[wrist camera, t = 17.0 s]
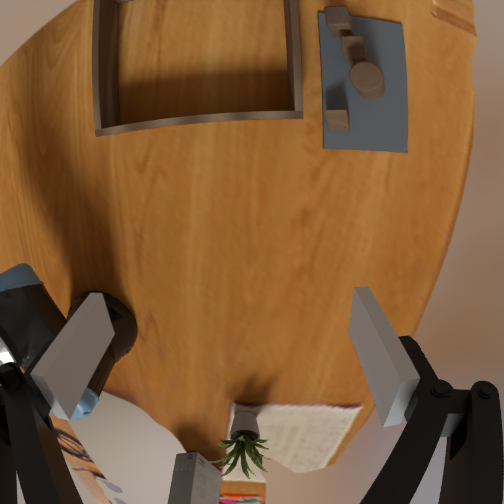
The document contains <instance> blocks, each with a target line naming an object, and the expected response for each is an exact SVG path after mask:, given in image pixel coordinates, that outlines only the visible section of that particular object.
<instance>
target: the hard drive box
mask: <svg viewBox="0 0 504 504" xmlns="http://www.w3.org/2000/svg"><path fill="white" fill-rule="evenodd" d="M205 461H208V460H206V459H205V458H204V457H203V456H202V455H201V454H200V453H199V452H190V453H182V454H177V455H176V460H175V465H174V471H173V477H172V482H171V488H170V494H169V499H168V504H219V496H220V482H221V472H220V471H219V470H218V469H217V468H216V467H215V466H213V465H212V464H211V463H209V462H205Z"/></svg>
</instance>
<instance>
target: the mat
mask: <svg viewBox="0 0 504 504" xmlns="http://www.w3.org/2000/svg"><path fill="white" fill-rule="evenodd" d="M317 15H318V28H319V42H320V58H321V79H322V108H323V149H348V150H371V151H388V152H402V153H407V139H408V98H407V72H406V57H405V45H404V34H403V25H402V24H397V23H392V22H387V21H381V20H376V19H369V18H363V17H356V16H351V19H352V23H353V31H354V36H363V38H364V42H365V45H366V49H367V58H368V62H372V63H374V64H376V65H377V66H378V67H380V69H381V70H382V71H383V75H384V82H385V92H384V93H383V95H382V96H381V97H380V98H377V99H372V100H371V99H366V98H364V97H363V96H361V95H360V94H359V92H358V91H357V90H356V88H355V87H354V86H353V84H352V83H351V81H350V79H349V71H350V69H351V67H352V66H353V65H349V64H348V63H347V61H346V60H345V58H344V56H343V51H342V46H341V37H335V36H334V35H333V33H332V32H331V30H330V29H329V27H328V26H327V24H326V18H325V13H318V14H317ZM324 110H347V111H349V122H350V131H330V130H329V126H328V123H327V119H326V115H325V111H324Z"/></svg>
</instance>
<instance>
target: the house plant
mask: <svg viewBox="0 0 504 504" xmlns="http://www.w3.org/2000/svg"><path fill="white" fill-rule="evenodd" d="M229 438H230V440H221V441H222V442H223V443H225V444H228V445H221V444H219V447H220V448H222V449H226V448H229V447H231V446H232V445H233V444H234V443H236V445H235V447H234V449H233V450H232V451H231V452H230V453H228V454H226V455H227V456H226V457H224V458H223V459H220V460H217V461H205V462H209V463H218V462H221V461H223V460H224V461H225V460H226V462H225V463H224V464H223V465H222V466H221V467H219V468H222V467H224V466H225V465H226V464H227V463H228V462H229V461H230V459H231V458H232V457H234V458H235V459H234V461H233V462H232V463H231V466H230V467H229V468H228V469H227V471H226V472H225V473H224V474H223V475H222V476H225V475H227V474H228V473H230V472H231V471H232V470H233V468H234V467H235V466H236V464H237V461H238V458H239V456H240V454H241V465H242V470H243V472H244V474H245V475H246V476H247V478H248V479H250V477H249V474H248V471H247V468H248V469H249V467H248V464H247V461H246V456H245V450H246V453H247V455H248V456H249V457H251V460H252V461H253V463H254V464H256V466H257V467H259V468H260V469H262V470H263V471H265V472H267V471H266V470H265V469H264V468H263V466H262V457H263V455H261V454H259V452H258V450H257V449H256V447H255V446H257V447H259V448H262V449H268V448H265V447H263V446H262V445H260V444H257V443H256V442H260V443H264V442H266V441H267V440H260V434H259V429H258V424H257V420H256V416H255V414H253V413H252V412H248V411H242V412H238V413H236V414H235V416H234V420H233V424H232V427H231V431H230V434H229ZM252 450H253V451H254V452H253V451H252ZM254 453H255V454H254ZM224 456H225V455H224ZM263 458H265V457H263ZM266 459H269V458H266ZM228 465H230V464H228ZM249 471H250V472H251V473H253V472H252V471H251V470H250V469H249ZM253 474H254V473H253ZM254 475H255V474H254ZM222 476H221V477H222Z"/></svg>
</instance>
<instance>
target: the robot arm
mask: <svg viewBox="0 0 504 504" xmlns="http://www.w3.org/2000/svg"><path fill="white" fill-rule="evenodd" d="M43 284H44V283H43V282H42V281H40V279H39V278H38V277H37V275H36V274H35V272H34V271H33V269H32V267H31V266H29V265H28V264H25V263H22V264H18V265H16V266H14V267H12V268H10V269H9V270H7V271H5V272H3V273H1V274H0V384H1V386H0V504H17V480H16V470H17V474H18V478H19V481H20V485H21V489H22V493H23V496H24V499H25V502H26V504H83V502H82V500H81V497H80V495H79V493H78V491H77V489H76V486H75V484H74V482H73V479H72V477H71V474H70V472H69V469H68V467H67V465H66V462H65V459H64V456H63V454H62V451H61V448H60V445H59V442H58V439H57V436H56V433H55V430H54V427H53V424H52V420H51V418H50V416H49V415H48V414H49V412H51V413H52V414H55V416H56V417H57V418H61V419H65V420H69V421H70V419H71V420H80V419H84V418H86V417H88V416H89V415H90V413H91V412H92V410H93V408H94V407H95V405H96V403H97V402H98V401H99V396H100V394H101V392H102V390H103V387H104V385H105V383H106V381H107V379H108V377H109V375H110V372H111V370H112V368H113V366H114V364H115V363H116V362H117V361H118V360H120V359H121V357H122V356H124V355H126V354H127V353H128V352H129V351H130V350H131V349H132V347H133V345H134V343H135V341H136V338H137V325H136V322H135V320H134V318H133V316H132V314H131V313H130V311H129V310H128V309H127V308H126V306H125V305H123V304H122V303H121V302H120V301H119V300H117V299H116V298H114V297H112V296H111V295H108V294H106V293H103V292H99V291H88V292H84V293H82V294H80V295H79V296H78V297H77V298H76V299H75V300H74V302H73V303H72V304H71V306H70V308H69V311H68V316H67V319H65V317H64V316H63V314H62V313H61V311H60V310H59V308H58V307H57V305H56V304H55V302H54V301H53V299H52V298H51V296H50V295H49V293H48V292H47V290H46V288H45V287H44V285H43ZM348 332H349V335H350V337H351V340H352V343H353V345H354V348H355V350H356V353H357V356H358V358H359V361H360V364H361V366H362V369H363V372H364V374H365V377H366V380H367V383H368V385H369V388H370V391H371V394H372V397H373V400H374V402H375V405H376V408H377V411H378V414H379V417H380V420H381V423H382V426H383V427H387V426H392V425H397V424H400V423H401V421H402V419H403V417H404V416H405V418H406V421H407V424H406V426H405V428H404V430H403V432H402V434H401V436H400V438H399V440H398V442H397V443H396V445H395V447H394V449H393V451H392V453H391V454H390V456H389V458H388V460H387V461H386V463H385V465H384V466H383V468H382V470H381V471H380V473H379V475H378V476H377V478H376V479H375V481H374V483H373V484H372V486H371V487H370V489H369V490H368V492H367V494H366V495H365V497H364V498H363V499H362V501H361V502H360V504H409V503H410V501H411V499H412V497H413V496H414V494H415V492H416V490H417V488H418V486H419V484H420V482H421V480H422V477H423V475H424V473H425V471H426V469H427V467H428V464H429V462H430V460H431V458H432V455H433V453H434V451H435V448H436V445H437V443H438V441H439V438H440V436H441V437H442V436H443V437H447V446H446V456H445V466H444V472H443V479H442V486H441V492H440V498H439V503H438V504H502V500H503V480H504V477H503V476H504V459H503V457H504V456H503V432H502V419H501V409H500V400H499V393H498V390H497V388H496V387H495V386H494V385H493V384H491V383H490V382H487V381H478V382H476V383H474V385H473V386H472V388H471V390H457V389H453V387H452V386H451V385H450V384H449V383H448V382H446V381H444V380H439V379H438V377H437V376H436V374H435V372H434V370H433V369H432V367H431V365H430V364H429V362H428V360H427V358H425V355H424V353H423V352H422V351H421V348H420V347H419V345H418V343H417V342H416V341H415V340H413V339H412V338H411V337H410V336H401V337H398V336H397V334H396V332H395V331H394V329H393V327H392V325H391V324H390V322H389V320H388V319H387V317H386V315H385V313H384V312H383V310H382V308H381V307H380V305H379V303H378V302H377V300H376V298H375V297H374V295H373V293H372V292H371V290H370V288H369V287H368V286H367V287H354V293H353V301H352V308H351V315H350V322H349V328H348ZM20 366H21V367H22V368H23V370H24V371H25V372H24V374H23V373H22V371H21V369H20Z"/></svg>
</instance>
